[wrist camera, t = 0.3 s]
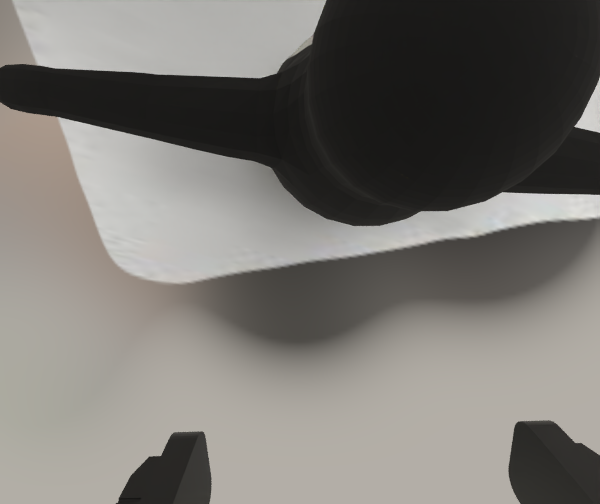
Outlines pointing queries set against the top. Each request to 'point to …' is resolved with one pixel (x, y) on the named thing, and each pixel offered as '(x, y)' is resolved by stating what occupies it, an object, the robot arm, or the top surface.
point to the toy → (377, 106)
